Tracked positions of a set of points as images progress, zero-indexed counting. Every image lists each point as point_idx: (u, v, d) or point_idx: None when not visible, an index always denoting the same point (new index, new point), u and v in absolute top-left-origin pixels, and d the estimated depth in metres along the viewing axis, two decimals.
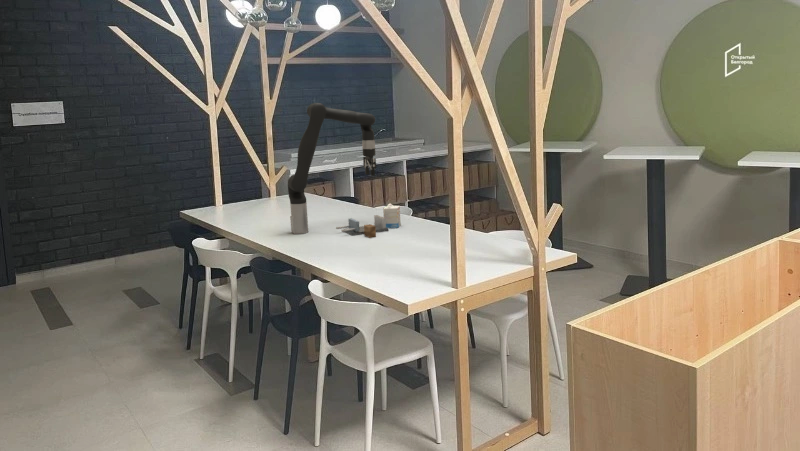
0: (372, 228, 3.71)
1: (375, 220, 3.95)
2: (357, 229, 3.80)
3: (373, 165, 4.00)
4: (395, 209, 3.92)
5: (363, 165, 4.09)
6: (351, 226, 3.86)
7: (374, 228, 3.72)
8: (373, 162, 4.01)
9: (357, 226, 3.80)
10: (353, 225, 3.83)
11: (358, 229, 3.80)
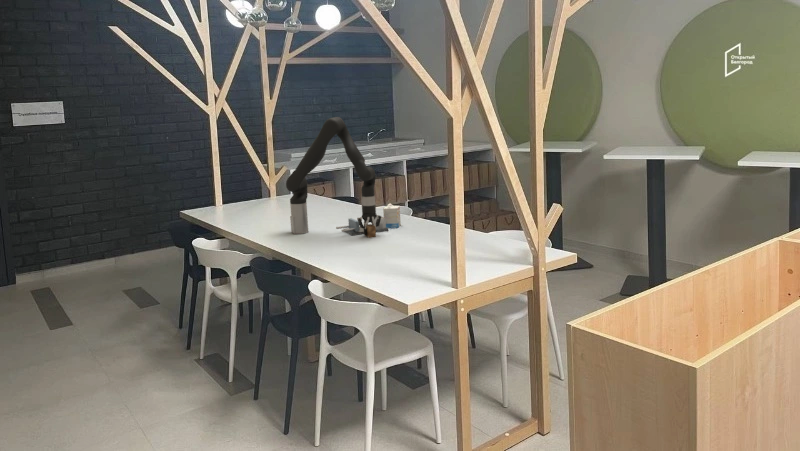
0: (372, 228, 3.71)
1: (375, 220, 3.95)
2: (357, 229, 3.80)
3: None
4: (395, 209, 3.92)
5: (362, 226, 3.71)
6: (351, 226, 3.86)
7: (374, 228, 3.72)
8: None
9: (357, 226, 3.80)
10: (353, 225, 3.83)
11: (358, 229, 3.80)
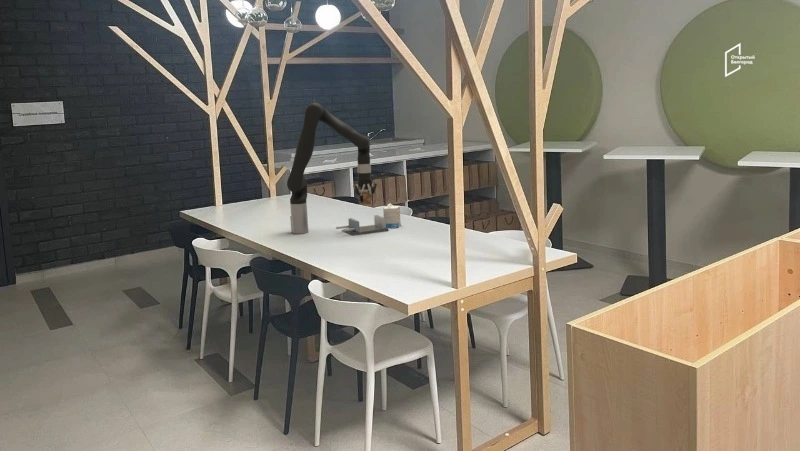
0: (368, 195, 3.82)
1: (375, 220, 3.95)
2: (357, 229, 3.80)
3: None
4: (395, 209, 3.92)
5: (358, 193, 3.81)
6: (351, 226, 3.86)
7: (369, 195, 3.82)
8: None
9: (357, 226, 3.80)
10: (353, 225, 3.83)
11: (358, 229, 3.80)
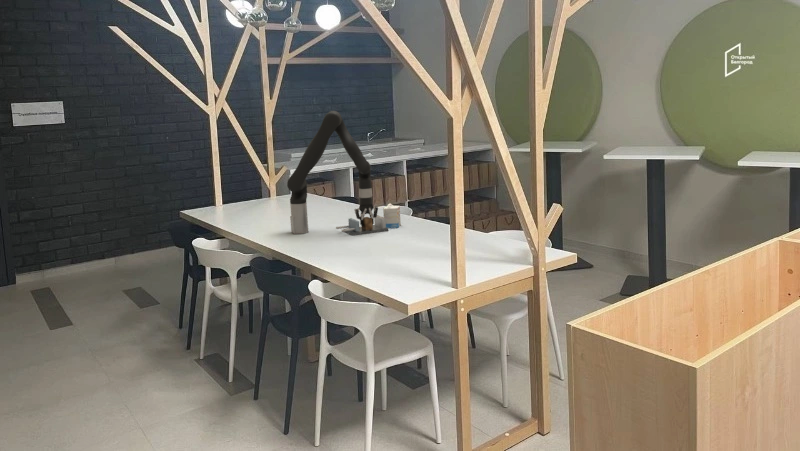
0: (369, 220, 3.85)
1: (375, 220, 3.95)
2: (357, 229, 3.80)
3: None
4: (395, 209, 3.92)
5: (359, 217, 3.84)
6: (351, 226, 3.86)
7: (371, 220, 3.85)
8: None
9: (357, 226, 3.80)
10: (353, 225, 3.83)
11: (358, 229, 3.80)
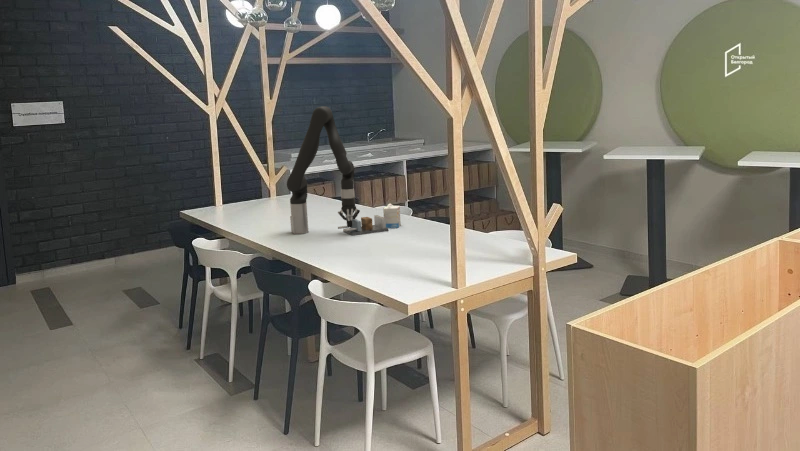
0: (369, 220, 3.85)
1: (375, 220, 3.95)
2: (359, 229, 3.80)
3: None
4: (395, 209, 3.92)
5: (345, 219, 3.81)
6: (353, 226, 3.87)
7: (371, 220, 3.85)
8: None
9: (359, 226, 3.80)
10: (355, 225, 3.83)
11: (360, 229, 3.81)
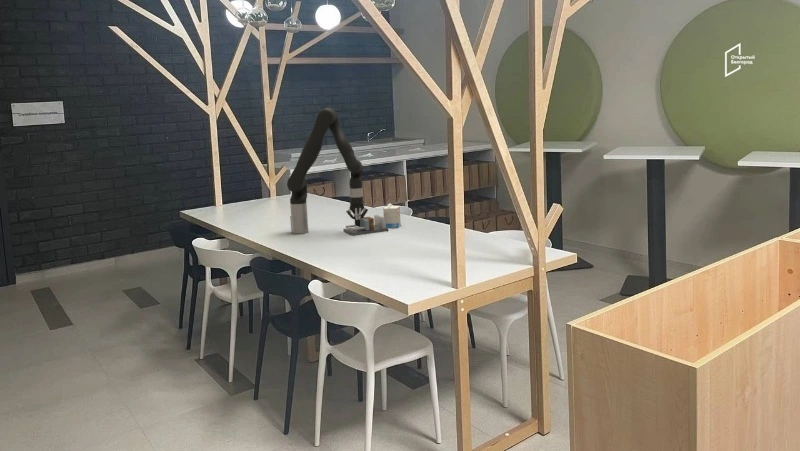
0: (371, 220, 3.85)
1: (375, 220, 3.95)
2: (367, 228, 3.82)
3: None
4: (395, 209, 3.92)
5: (353, 217, 3.83)
6: (360, 225, 3.89)
7: (372, 220, 3.86)
8: None
9: (367, 225, 3.82)
10: (363, 224, 3.85)
11: (368, 228, 3.83)
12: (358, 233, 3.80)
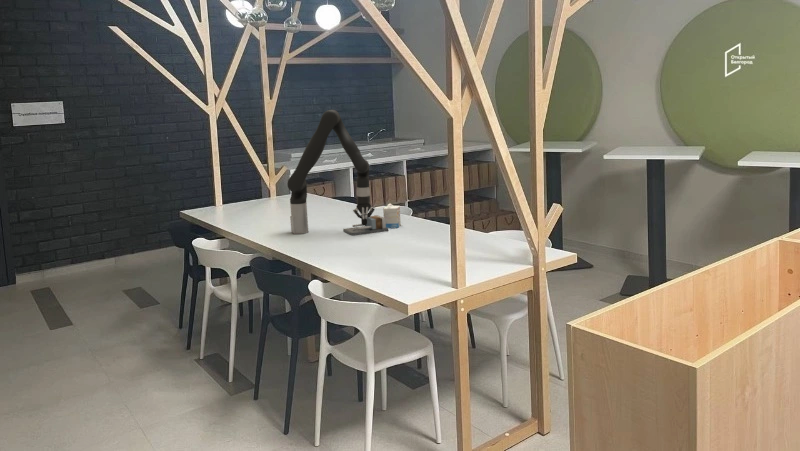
0: (377, 219, 3.87)
1: None
2: (373, 227, 3.84)
3: None
4: (395, 209, 3.92)
5: (360, 217, 3.84)
6: (367, 224, 3.90)
7: (379, 219, 3.87)
8: None
9: (374, 224, 3.84)
10: (369, 223, 3.87)
11: (374, 227, 3.84)
12: (358, 233, 3.80)
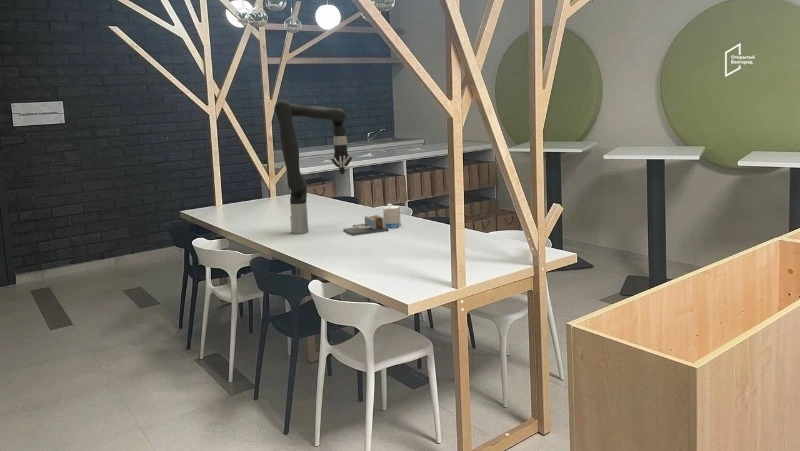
0: (377, 219, 3.87)
1: None
2: (374, 227, 3.84)
3: None
4: (395, 209, 3.92)
5: (337, 165, 3.90)
6: (367, 224, 3.90)
7: (379, 219, 3.87)
8: None
9: (374, 224, 3.84)
10: (369, 223, 3.87)
11: (375, 227, 3.84)
12: (358, 233, 3.80)
